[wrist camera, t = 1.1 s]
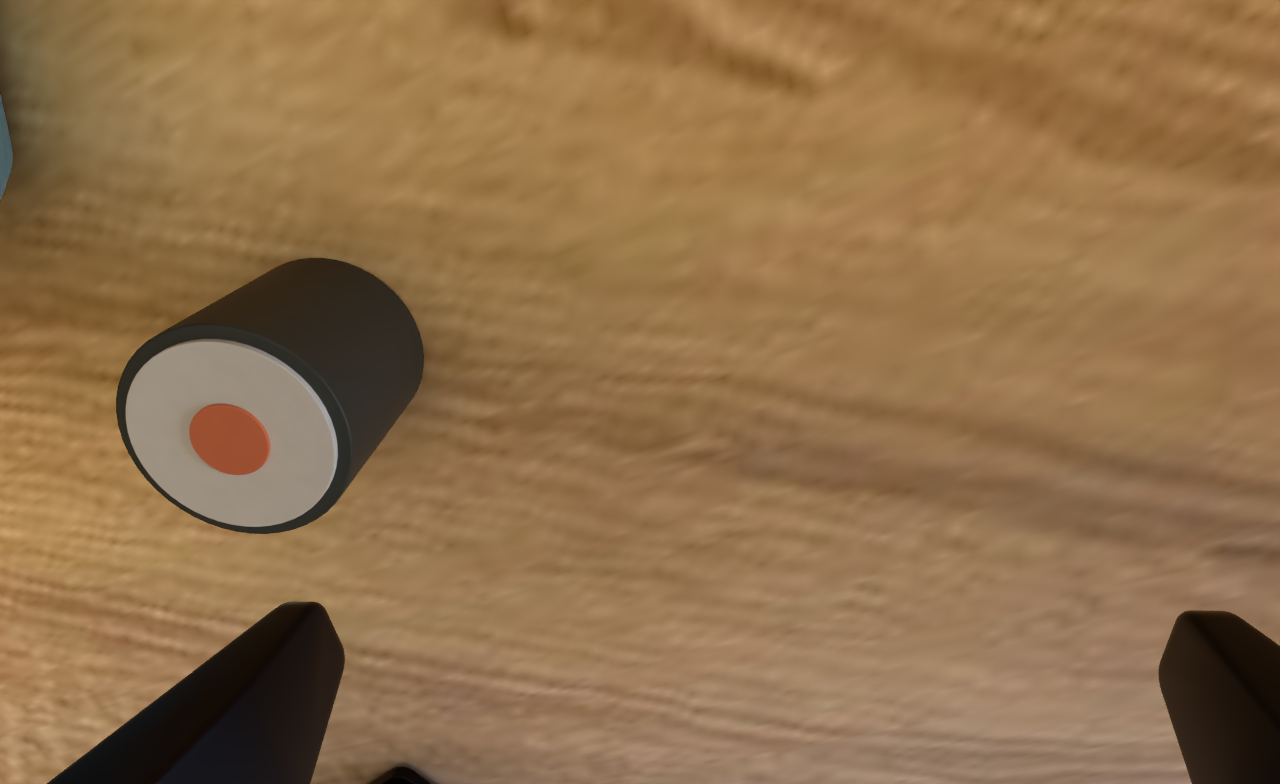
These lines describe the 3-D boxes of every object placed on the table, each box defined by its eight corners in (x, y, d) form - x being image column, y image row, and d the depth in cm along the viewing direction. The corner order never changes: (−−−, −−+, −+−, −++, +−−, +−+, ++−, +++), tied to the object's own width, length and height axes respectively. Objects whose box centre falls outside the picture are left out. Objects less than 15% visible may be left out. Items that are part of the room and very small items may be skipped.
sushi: (344, 461, 22) (252, 578, 17) (203, 337, 20) (60, 427, 16) (462, 357, 20) (397, 454, 16) (319, 217, 19) (201, 276, 14)
